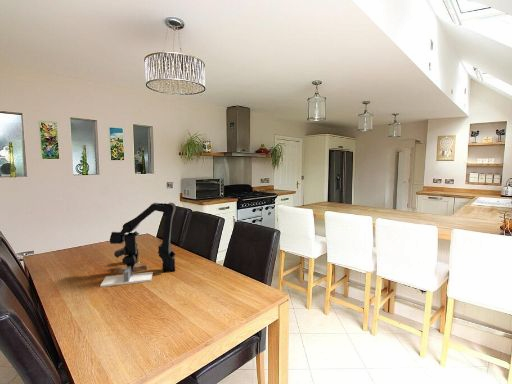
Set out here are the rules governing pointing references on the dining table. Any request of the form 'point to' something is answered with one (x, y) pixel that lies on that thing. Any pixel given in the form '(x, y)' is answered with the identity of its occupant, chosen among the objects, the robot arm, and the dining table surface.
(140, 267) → the walnut bar
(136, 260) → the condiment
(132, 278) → the balance stand
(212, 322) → the dining table surface
